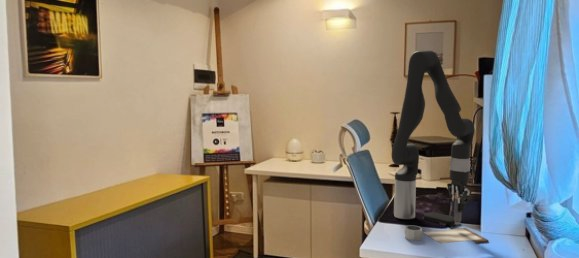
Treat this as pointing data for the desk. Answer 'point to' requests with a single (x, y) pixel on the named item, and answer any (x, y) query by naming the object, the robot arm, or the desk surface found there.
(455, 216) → the marker
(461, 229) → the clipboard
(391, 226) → the desk surface
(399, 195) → the robot arm
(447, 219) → the carrying case or bag
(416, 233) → the pen cup
